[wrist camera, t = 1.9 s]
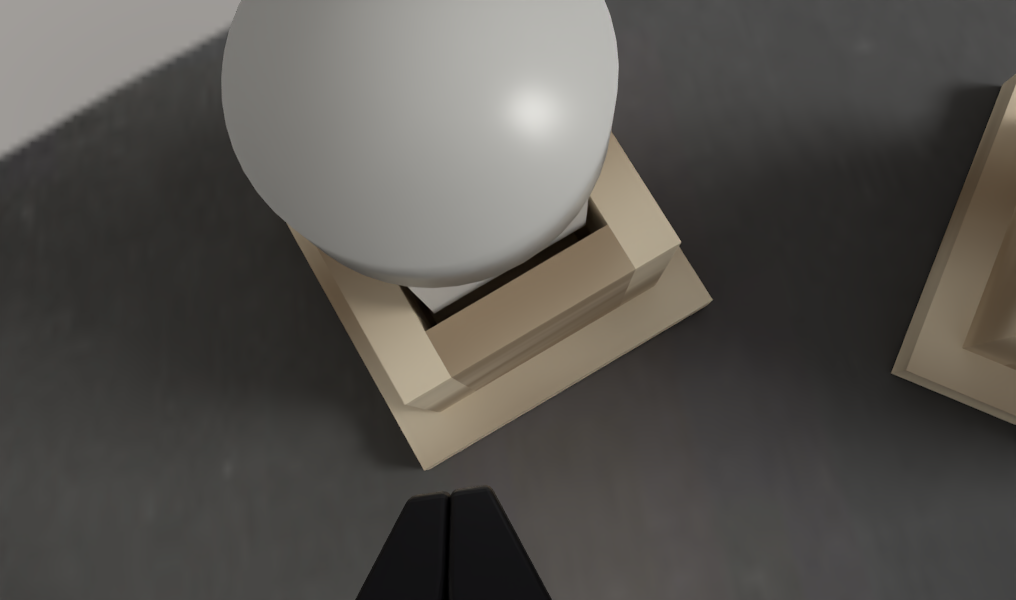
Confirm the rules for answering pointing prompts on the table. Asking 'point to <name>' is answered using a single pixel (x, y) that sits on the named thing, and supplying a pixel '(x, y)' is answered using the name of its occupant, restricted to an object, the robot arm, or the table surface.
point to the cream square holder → (974, 284)
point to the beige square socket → (519, 319)
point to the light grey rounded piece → (423, 128)
